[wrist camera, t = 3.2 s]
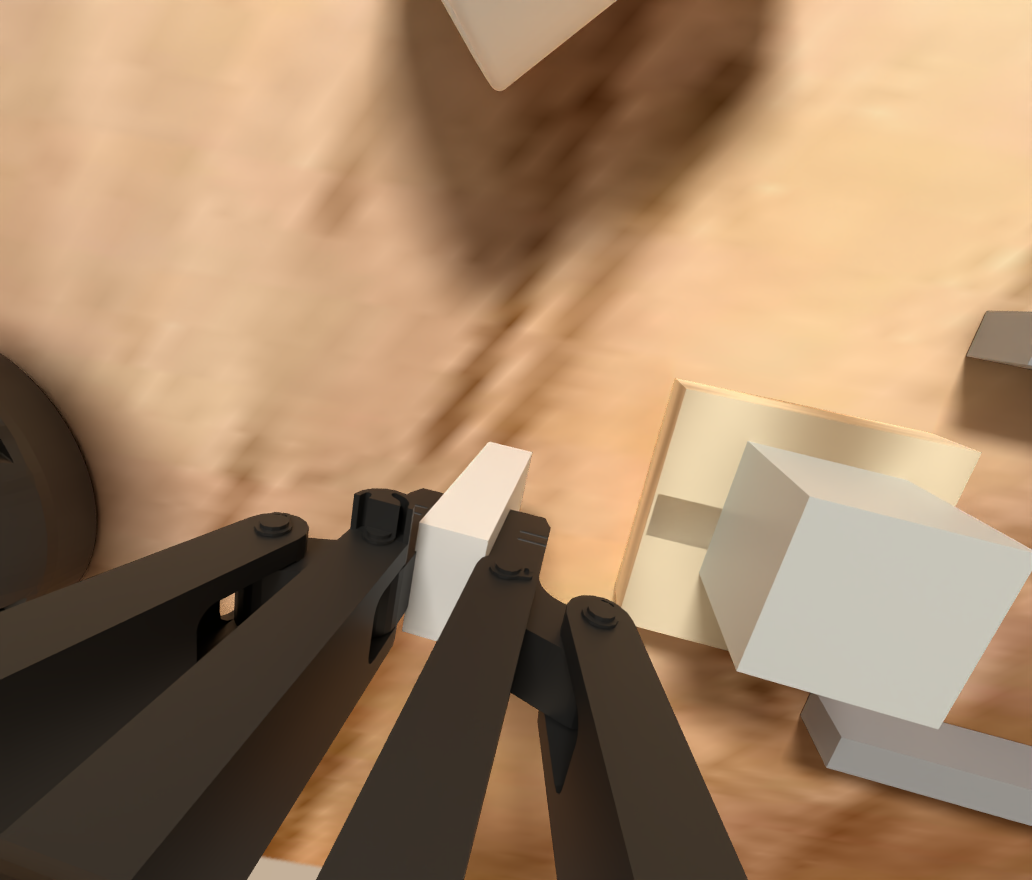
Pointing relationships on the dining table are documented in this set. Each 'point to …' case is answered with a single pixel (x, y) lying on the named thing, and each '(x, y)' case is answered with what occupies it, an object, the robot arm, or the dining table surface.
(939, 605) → the light grey cube
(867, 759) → the dock
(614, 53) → the dining table surface
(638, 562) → the pallet
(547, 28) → the mug
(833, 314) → the dining table surface
